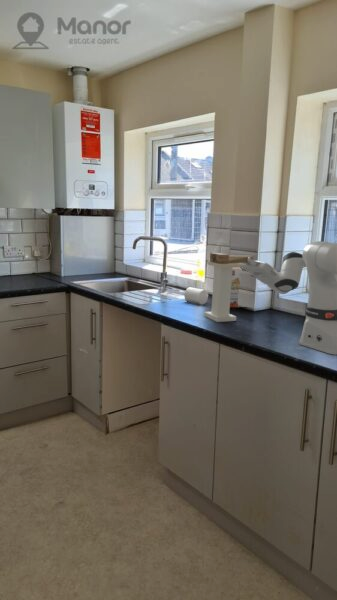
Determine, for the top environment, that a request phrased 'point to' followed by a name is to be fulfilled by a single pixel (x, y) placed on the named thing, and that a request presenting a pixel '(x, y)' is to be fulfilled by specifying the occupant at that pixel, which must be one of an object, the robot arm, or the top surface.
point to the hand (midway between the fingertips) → (244, 258)
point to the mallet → (227, 258)
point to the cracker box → (235, 286)
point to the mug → (196, 295)
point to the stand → (221, 292)
